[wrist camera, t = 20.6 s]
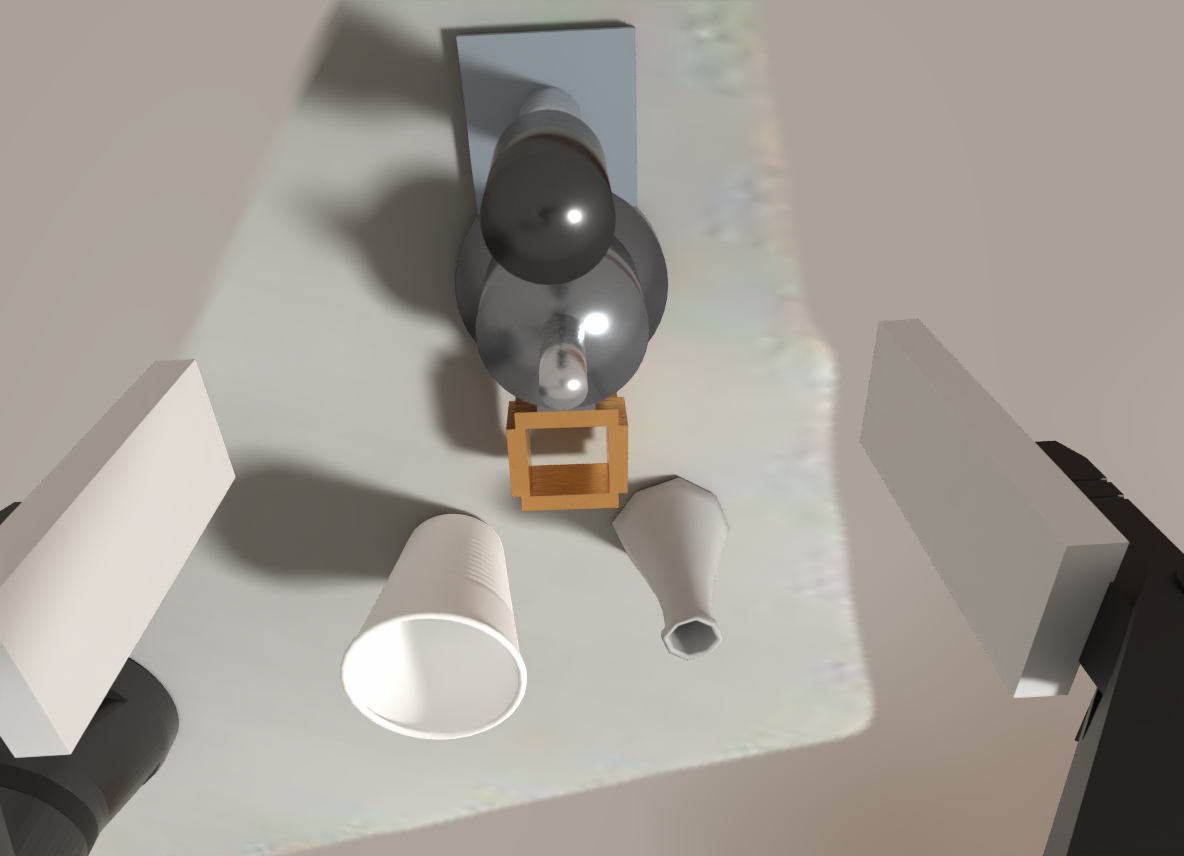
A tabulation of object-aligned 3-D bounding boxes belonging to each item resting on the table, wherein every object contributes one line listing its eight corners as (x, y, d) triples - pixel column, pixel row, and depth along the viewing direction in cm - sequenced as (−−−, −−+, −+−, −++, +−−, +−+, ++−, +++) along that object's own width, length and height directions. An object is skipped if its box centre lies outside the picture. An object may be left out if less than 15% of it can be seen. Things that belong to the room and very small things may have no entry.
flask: (681, 457, 49) (707, 568, 40) (747, 526, 52) (785, 642, 43) (591, 519, 51) (598, 636, 43) (660, 581, 54) (679, 702, 46)
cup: (477, 623, 56) (460, 762, 46) (351, 559, 52) (305, 695, 43) (562, 534, 52) (564, 667, 42) (432, 458, 48) (402, 584, 39)
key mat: (478, 209, 40) (477, 214, 40) (458, 34, 36) (456, 36, 35) (635, 201, 40) (637, 206, 40) (633, 25, 36) (635, 27, 36)
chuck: (477, 218, 39) (453, 299, 30) (640, 213, 39) (664, 293, 30) (502, 480, 47) (489, 603, 38) (637, 475, 47) (654, 597, 39)
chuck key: (612, 140, 38) (638, 247, 26) (533, 184, 39) (524, 306, 27) (568, 51, 36) (575, 125, 24) (485, 100, 37) (453, 194, 25)
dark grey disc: (471, 376, 45) (469, 389, 44) (445, 181, 40) (441, 189, 38) (664, 366, 45) (667, 378, 44) (665, 169, 40) (669, 177, 38)
